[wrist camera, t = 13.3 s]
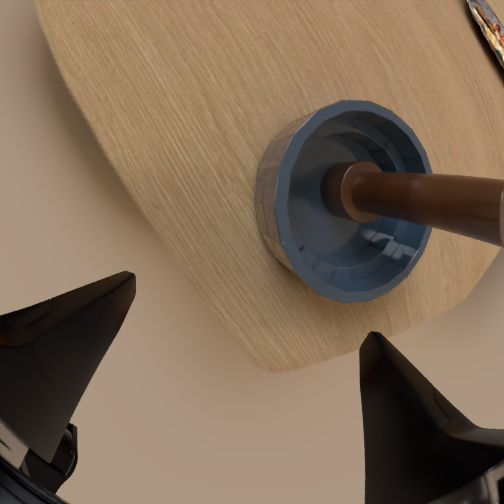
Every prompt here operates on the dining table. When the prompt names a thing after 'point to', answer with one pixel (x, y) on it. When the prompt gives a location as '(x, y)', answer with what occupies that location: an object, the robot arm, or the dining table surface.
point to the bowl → (316, 214)
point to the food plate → (489, 26)
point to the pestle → (417, 199)
